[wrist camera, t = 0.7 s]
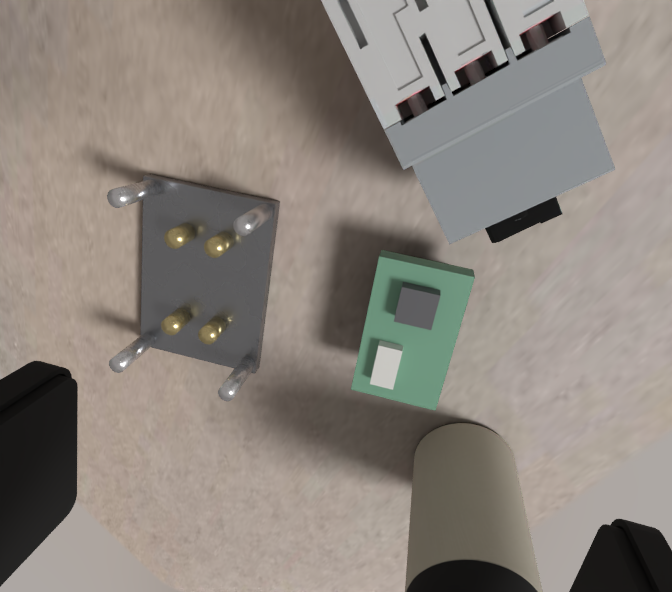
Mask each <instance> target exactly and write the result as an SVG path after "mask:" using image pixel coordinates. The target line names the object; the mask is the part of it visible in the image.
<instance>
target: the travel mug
mask: <svg viewBox="0 0 672 592" xmlns="http://www.w3.org/2000/svg"><path fill="white" fill-rule="evenodd" d="M405 592H542V587H541V582H540V577H539V572H538V568H537V563H536V558H535V554H534V549H533V544H532V539H531V535H530V530H529V525H528V521H527V516H526V511H525V506H524V502H523V497H522V492H521V488H520V483H519V478H518V473H517V469H516V464H515V459H514V456H513V453H512V451H511V449H510V447H509V446H508V444H507V443H506V442H505V441H504V440H503V439H502V438H501V437H500V436H499V435H497V434H496V433H494V432H493V431H491V430H489V429H487V428H485V427H482V426H479V425H474V424H468V423H455V424H449V425H445V426H441V427H439V428H437V429H435V430H433V431H431V432H430V433H428V434H427V435H426V436H425V437H424V438H423V439H422V440H421V441H420V443H419V445H418V446H417V448H416V451H415V455H414V467H413V482H412V497H411V512H410V527H409V541H408V556H407V571H406V586H405Z"/></svg>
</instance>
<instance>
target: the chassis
mask: <svg viewBox="0 0 672 592" xmlns="http://www.w3.org/2000/svg"><path fill="white" fill-rule="evenodd" d="M107 198H108V202H109V203H110V204H111V205H112V206H113V207H115V208H120V207H123V206H126V205H129V204H132V203H135V202H138V201H141V200H143V230H142V287H141V336H140V337H139V338H137V339H136V340H135V341H134V342H132V343H131V344H130V345H129V346H127V347H126V348H125V349H123V350H122V351H121V352H120V353H118V354H117V355H116V356H115V357H113V358H112V359H111V360H110V361H109V366H110V368H111V369H112V370H113V371H114V372H117V373H120V372H122V371H123V370H124V369H126V368H127V367H128V366H129V365H130V364H131V363H133V362H134V361H135V360H136V359H137V358H138V357H140V356H141V355H142V354H143V353H144V352H145V351H147V350H148V349H149V348H150V347H152V348H156V349H160V350H164V351H168V352H172V353H176V354H180V355H184V356H188V357H192V358H196V359H200V360H204V361H208V362H212V363H216V364H220V365H223V366H227V367H231V368H235V369H234V370H233V372H232V373H231V374H230V376H229V377H228V378H227V380H226V381H225V382H224V384H223V385H222V386H221V388H220V389H219V391H218V394H219V397H220V398H221V399H222V400H224V401H231V400H232V399H233V398H234V396H235V395H236V394H237V392H238V391H239V389H240V388H241V386H242V385H243V383H244V382H245V380H246V379H247V378H248V376H249V375H250V373H256V371H257V370H258V368H259V364H260V356H261V348H262V340H263V332H264V324H265V316H266V308H267V300H268V292H269V284H270V276H271V268H272V260H273V252H274V244H275V236H276V228H277V220H278V212H279V204H280V201H275V200H271V199H266V198H261V197H257V196H252V195H247V194H242V193H238V192H233V191H228V190H224V189H219V188H214V187H209V186H205V185H200V184H195V183H191V182H186V181H181V180H177V179H172V178H167V177H162V176H158V175H153V174H149V175H145V176H143V181H141V182H137V183H134V184H130V185H127V186H123V187H119V188H116V189H112V190H110V191H109V192H108V195H107Z"/></svg>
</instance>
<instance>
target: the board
mask: <svg viewBox="0 0 672 592" xmlns="http://www.w3.org/2000/svg"><path fill="white" fill-rule="evenodd" d="M474 278H475V276H474V271H473V270H472V269H468V268H463V267H458V266H454V265H449V264H445V263H440V262H435V261H431V260H426V259H422V258H417V257H413V256H408V255H403V254H399V253H394V252H390V251H385V250H381V253H380V256H379V260H378V264H377V269H376V274H375V279H374V283H373V288H372V293H371V297H370V302H369V307H368V312H367V316H366V321H365V326H364V330H363V335H362V340H361V345H360V349H359V354H358V359H357V363H356V368H355V373H354V378H353V382H352V387H351V390H355V391H359V392H363V393H367V394H371V395H375V396H379V397H383V398H387V399H391V400H395V401H399V402H403V403H407V404H411V405H415V406H419V407H423V408H427V409H431V410H436V407H437V404H438V400H439V397H440V393H441V390H442V387H443V383H444V380H445V376H446V373H447V370H448V366H449V363H450V360H451V356H452V353H453V349H454V346H455V343H456V339H457V336H458V332H459V329H460V326H461V322H462V319H463V316H464V312H465V309H466V305H467V302H468V299H469V295H470V292H471V289H472V285H473V282H474Z"/></svg>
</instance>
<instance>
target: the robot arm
mask: <svg viewBox="0 0 672 592" xmlns="http://www.w3.org/2000/svg"><path fill="white" fill-rule="evenodd" d="M76 496H77V382H76V380H74V379H72V377H71V373H70V371H69V370H68V369H66V368H63V367H59V366H56V365H52V364H48V363H45V362H41V361H33V362H31V363H28V364H27V365H25V366H23V367H21V368H20V369H18V370H16V371H15V372H13V373H11V374H9V375H8V376H6V377H4V378H3V379H1V380H0V586H1V585H2V584H3V583H4V582H5V581H6V580H7V579H8V578H9V577H10V576H11V575H12V573H13V572H14V571H15V570H16V569H17V568H18V567H19V566H20V565H21V564H22V563H23V562H24V561H25V560H26V559H27V557H29V555H30V554H31V553H32V552H33V551H34V550H35V549H36V548H37V547H38V546H39V545H40V544H41V543H42V542H43V541H44V540H45V538H46V537H47V536H48V535H49V534H50V533H51V532H52V531H53V530H54V529H55V528H56V527H57V526H58V525H59V524H60V523H61V522H62V521H63V520H64V518H65V517H66V516H67V515H68V514H69V513H70V511H71V509H72V507H73V505H74V503H75V500H76ZM569 592H672V550H671V549H670V547H669V545H668V543H667V541H666V540H665V538H664V536H663V535H662V533H661V532H660V531H659V530H657V529H656V528H652V527H649V526H645V525H641V524H638V523H634V522H631V521H627V520H623V519H616V520H614V522H612V524H611V525H602V526H601V527H600V529H599V530H598V532H597V534H596V536H595V538H594V540H593V543H592V545H591V547H590V549H589V551H588V553H587V555H586V557H585V559H584V562H583V564H582V566H581V568H580V570H579V572H578V574H577V577H576V579H575V581H574V583H573V585H572V587H571V589H570V591H569Z"/></svg>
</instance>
